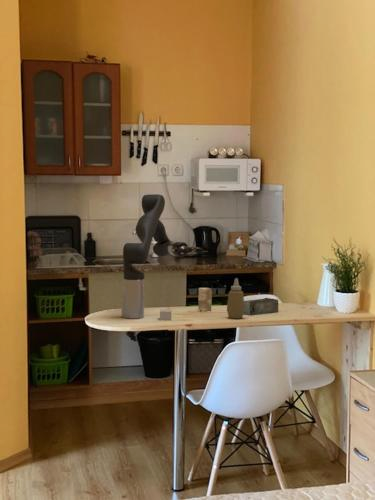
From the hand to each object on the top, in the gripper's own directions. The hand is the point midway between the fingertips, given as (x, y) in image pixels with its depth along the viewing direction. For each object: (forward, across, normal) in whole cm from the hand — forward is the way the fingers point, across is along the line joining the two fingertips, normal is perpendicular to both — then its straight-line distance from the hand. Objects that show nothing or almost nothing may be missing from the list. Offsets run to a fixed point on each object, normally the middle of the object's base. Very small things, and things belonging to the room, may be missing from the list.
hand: (194, 251), depth 315 cm
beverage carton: (+25, +22, +28) cm, 43 cm away
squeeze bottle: (+31, +3, +28) cm, 42 cm away
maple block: (+10, 0, +28) cm, 30 cm away
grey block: (+21, -28, +28) cm, 45 cm away
